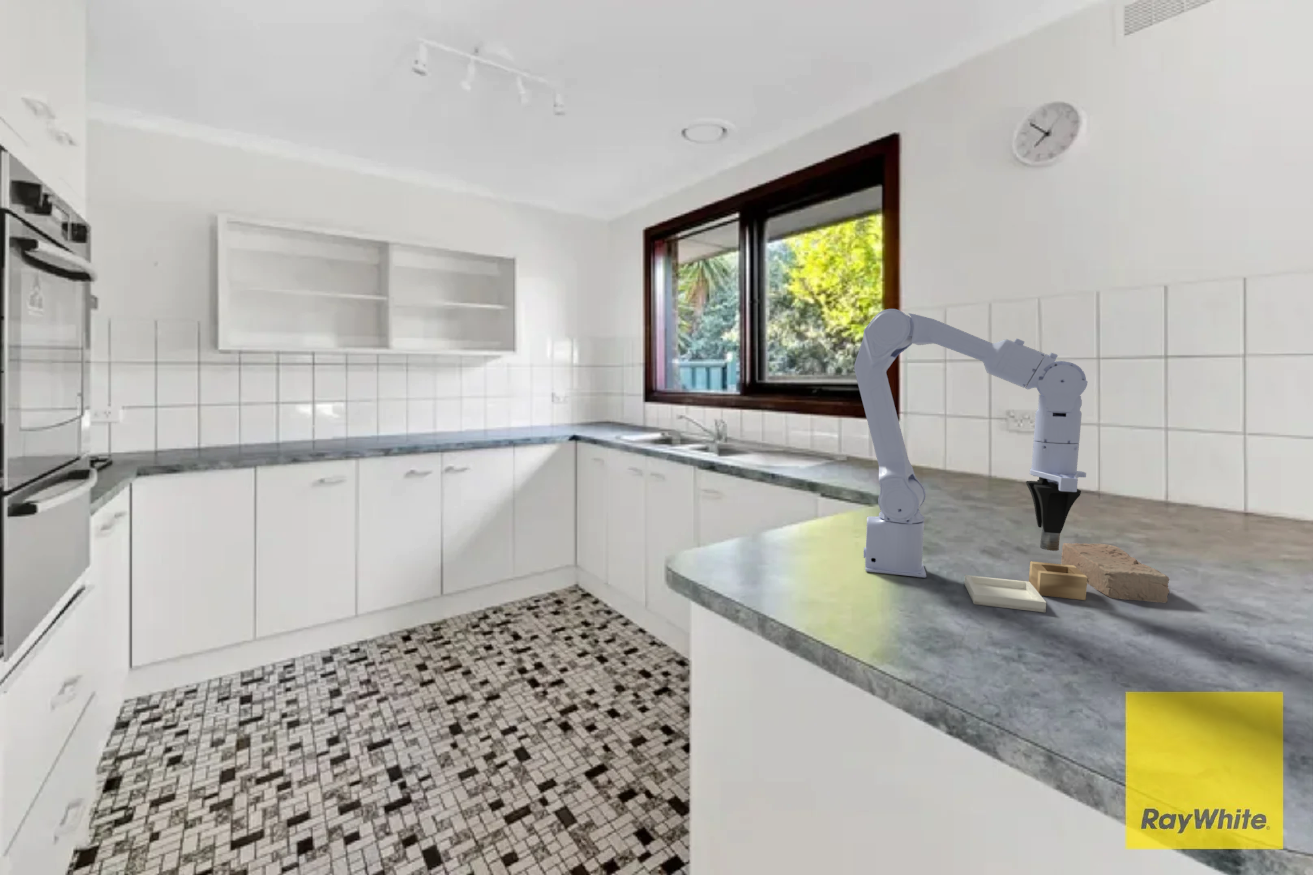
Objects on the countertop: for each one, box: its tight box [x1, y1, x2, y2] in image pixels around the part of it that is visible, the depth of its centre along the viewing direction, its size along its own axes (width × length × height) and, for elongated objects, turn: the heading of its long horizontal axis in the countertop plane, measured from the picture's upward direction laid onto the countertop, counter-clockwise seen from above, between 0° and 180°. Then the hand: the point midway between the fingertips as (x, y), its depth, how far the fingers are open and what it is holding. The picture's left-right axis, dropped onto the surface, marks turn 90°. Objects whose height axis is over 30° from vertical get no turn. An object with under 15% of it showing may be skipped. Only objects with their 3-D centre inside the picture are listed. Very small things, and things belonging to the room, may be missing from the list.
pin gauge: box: [1039, 526, 1061, 552], centre depth 90 cm, size 2×2×6 cm
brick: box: [1060, 542, 1170, 604], centre depth 95 cm, size 17×8×5 cm, turn 167°
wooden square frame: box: [1028, 561, 1088, 601], centre depth 91 cm, size 6×6×4 cm
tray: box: [963, 574, 1047, 613], centre depth 88 cm, size 9×9×2 cm
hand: (1049, 530), depth 90 cm, fingers closed on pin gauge, 2 cm apart
